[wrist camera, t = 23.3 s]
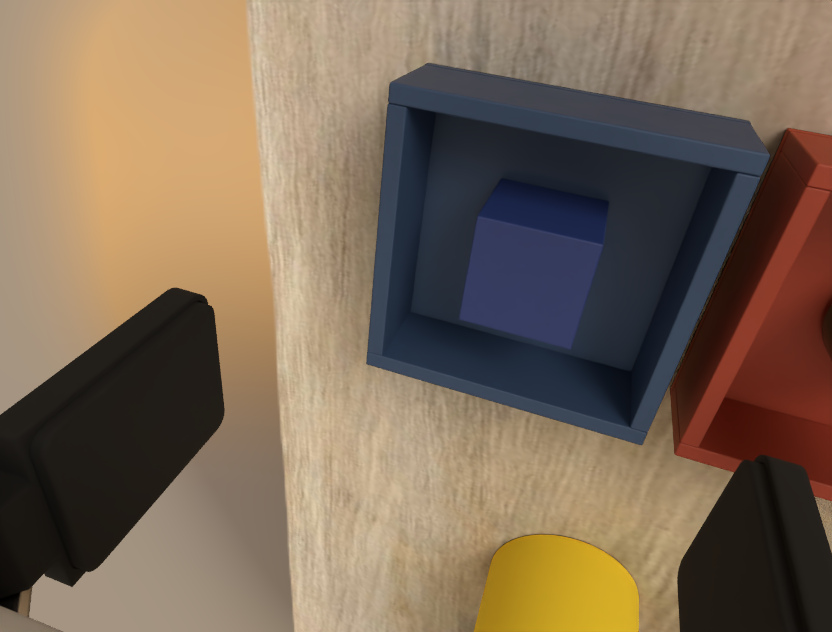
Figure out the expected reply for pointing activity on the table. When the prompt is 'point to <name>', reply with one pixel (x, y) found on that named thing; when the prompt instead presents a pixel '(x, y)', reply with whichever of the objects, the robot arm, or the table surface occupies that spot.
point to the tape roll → (557, 589)
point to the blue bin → (569, 172)
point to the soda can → (827, 332)
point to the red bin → (768, 330)
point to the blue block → (533, 261)
